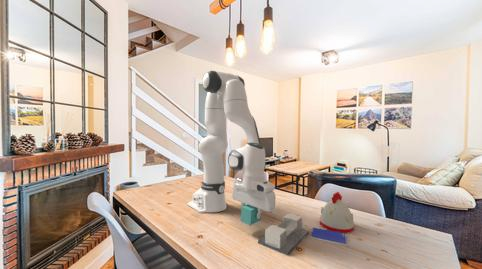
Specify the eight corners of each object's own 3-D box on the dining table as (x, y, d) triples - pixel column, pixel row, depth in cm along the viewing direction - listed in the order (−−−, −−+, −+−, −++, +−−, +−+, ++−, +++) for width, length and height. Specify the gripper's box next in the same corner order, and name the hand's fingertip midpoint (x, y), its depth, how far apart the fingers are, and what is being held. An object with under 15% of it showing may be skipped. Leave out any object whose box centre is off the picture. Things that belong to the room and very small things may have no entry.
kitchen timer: (313, 224, 94) (314, 191, 93) (328, 216, 103) (329, 186, 102) (345, 236, 83) (346, 199, 83) (359, 226, 92) (360, 193, 92)
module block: (240, 221, 84) (241, 206, 84) (251, 216, 90) (252, 202, 90) (250, 225, 81) (251, 210, 81) (260, 220, 86) (261, 206, 86)
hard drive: (345, 232, 84) (313, 226, 89) (346, 242, 77) (311, 235, 82) (345, 236, 84) (313, 230, 89) (346, 246, 77) (311, 239, 82)
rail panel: (257, 243, 77) (258, 227, 77) (282, 224, 93) (282, 211, 93) (287, 255, 70) (287, 237, 70) (308, 233, 85) (309, 218, 85)
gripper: (229, 178, 89) (227, 210, 90) (269, 189, 76) (267, 226, 76) (239, 176, 94) (237, 206, 95) (278, 186, 81) (276, 221, 81)
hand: (251, 215), depth 85 cm, fingers closed on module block, 5 cm apart
